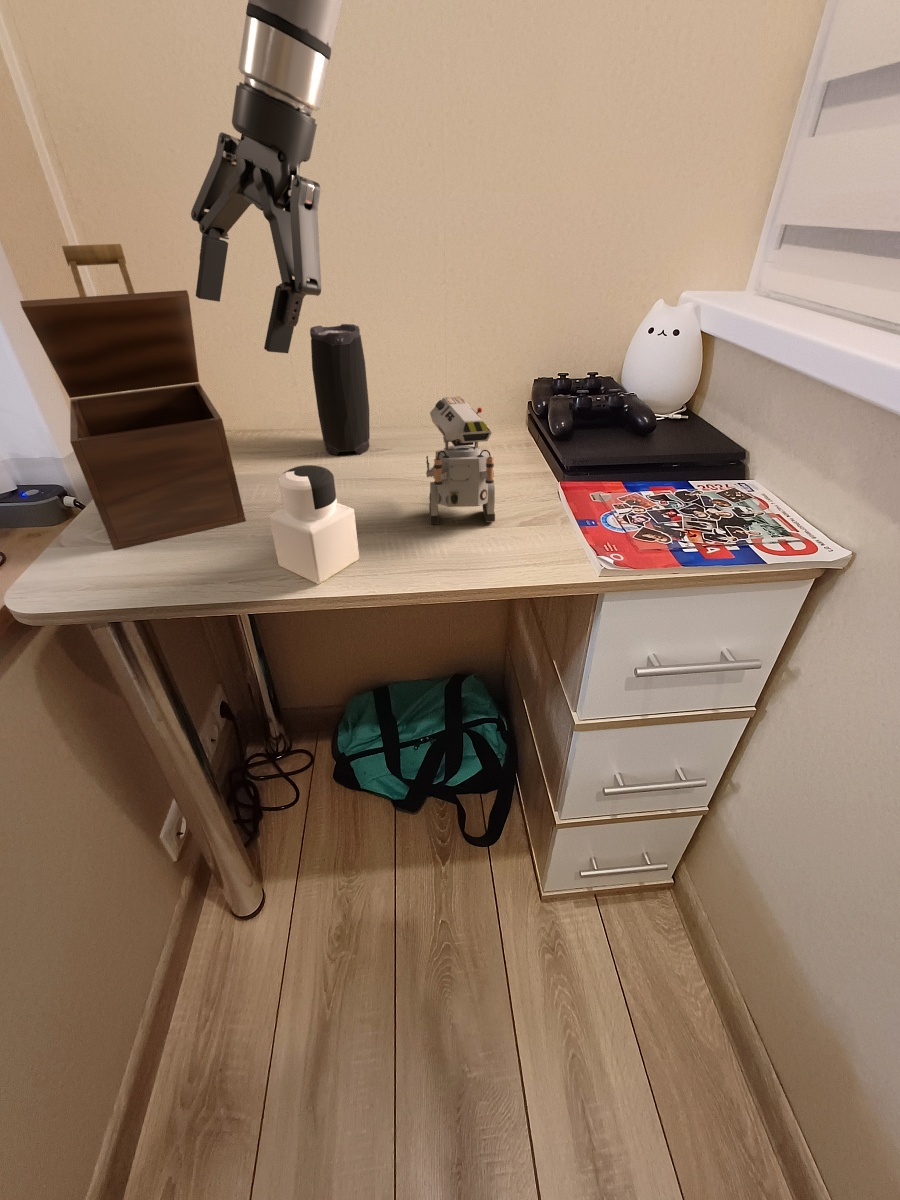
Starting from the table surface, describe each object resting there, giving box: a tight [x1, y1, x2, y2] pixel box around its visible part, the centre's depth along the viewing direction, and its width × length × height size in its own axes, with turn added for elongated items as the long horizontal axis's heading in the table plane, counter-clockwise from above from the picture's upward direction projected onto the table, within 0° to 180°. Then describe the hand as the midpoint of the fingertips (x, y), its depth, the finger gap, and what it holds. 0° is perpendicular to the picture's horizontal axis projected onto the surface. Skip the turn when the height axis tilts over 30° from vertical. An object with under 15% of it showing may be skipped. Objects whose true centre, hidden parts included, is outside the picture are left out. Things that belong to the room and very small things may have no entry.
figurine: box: [425, 396, 496, 525], centre depth 77 cm, size 9×12×15 cm
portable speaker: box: [309, 323, 371, 456], centre depth 95 cm, size 9×9×20 cm
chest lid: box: [19, 243, 200, 399], centre depth 72 cm, size 18×17×9 cm
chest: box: [69, 382, 247, 551], centre depth 78 cm, size 18×17×14 cm
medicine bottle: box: [268, 464, 360, 585], centre depth 67 cm, size 7×7×12 cm
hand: (240, 324), depth 66 cm, fingers open, 13 cm apart
